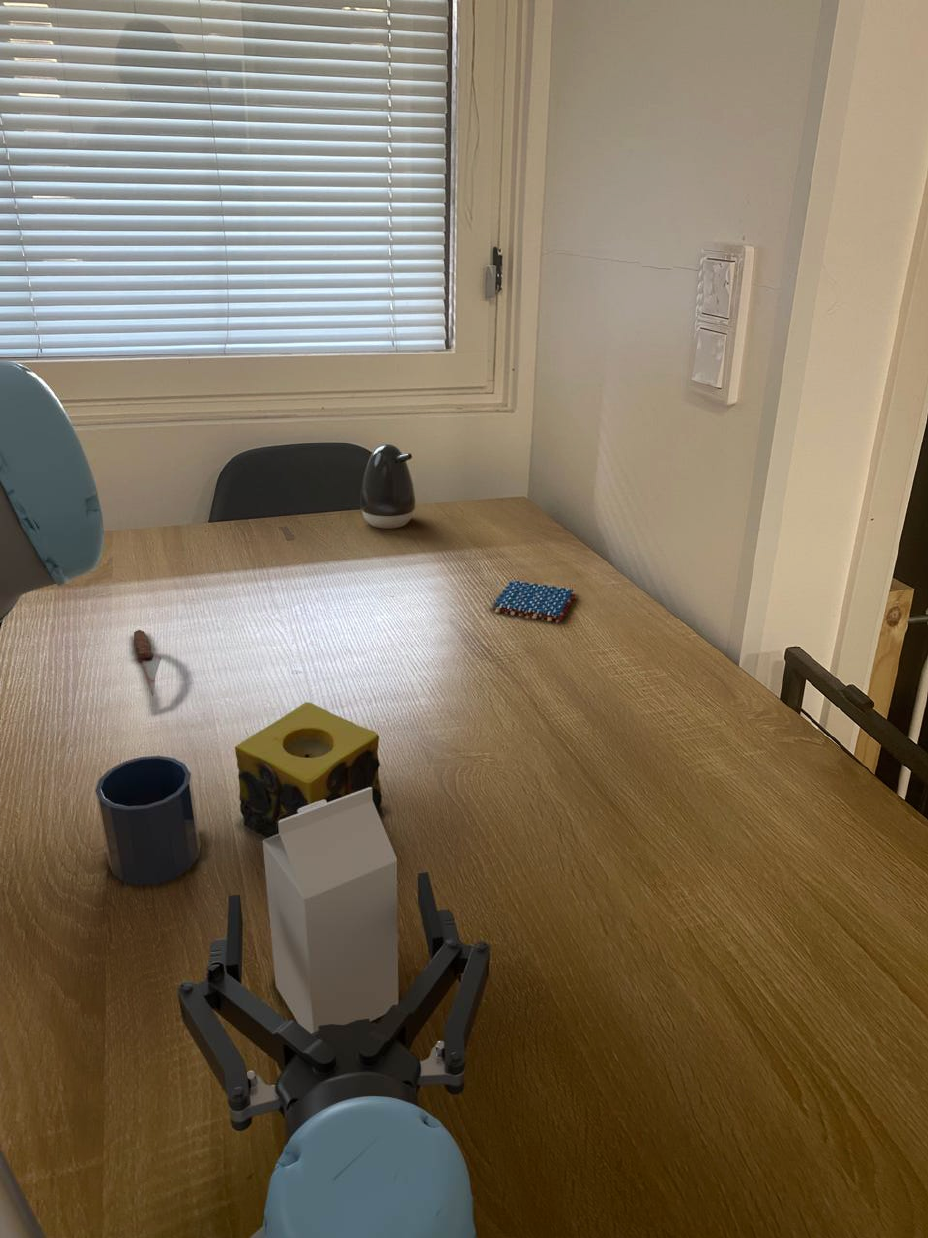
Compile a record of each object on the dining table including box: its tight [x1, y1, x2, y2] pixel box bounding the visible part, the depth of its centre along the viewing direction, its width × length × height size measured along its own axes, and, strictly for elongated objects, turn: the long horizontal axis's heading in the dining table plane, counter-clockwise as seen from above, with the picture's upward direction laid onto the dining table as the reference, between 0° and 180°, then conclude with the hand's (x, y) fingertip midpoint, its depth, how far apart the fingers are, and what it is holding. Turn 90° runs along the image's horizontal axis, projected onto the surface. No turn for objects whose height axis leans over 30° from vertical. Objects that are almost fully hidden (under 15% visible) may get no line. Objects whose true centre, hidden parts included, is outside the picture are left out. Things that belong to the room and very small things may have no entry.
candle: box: [234, 701, 383, 839], centre depth 88 cm, size 10×10×10 cm
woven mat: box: [492, 580, 576, 623], centre depth 137 cm, size 10×11×2 cm
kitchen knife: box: [133, 629, 162, 697], centre depth 116 cm, size 21×2×5 cm
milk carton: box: [262, 787, 399, 1034], centre depth 67 cm, size 7×7×19 cm
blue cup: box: [94, 755, 201, 887], centre depth 83 cm, size 8×8×9 cm
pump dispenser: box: [359, 443, 417, 530], centre depth 165 cm, size 10×10×15 cm
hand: (331, 897), depth 67 cm, fingers open, 13 cm apart
